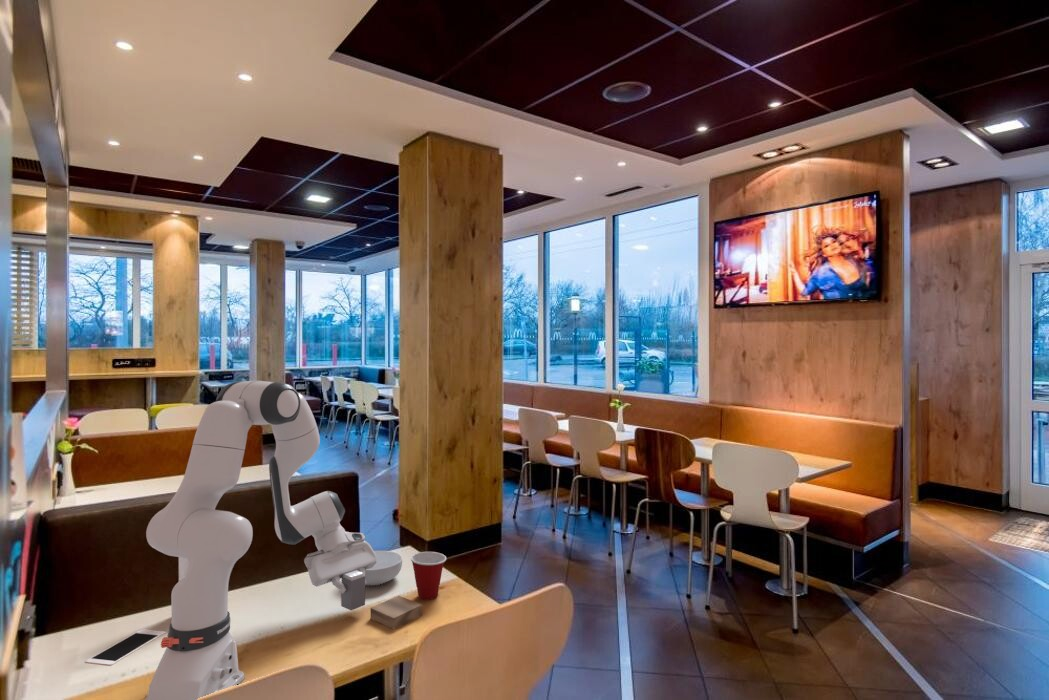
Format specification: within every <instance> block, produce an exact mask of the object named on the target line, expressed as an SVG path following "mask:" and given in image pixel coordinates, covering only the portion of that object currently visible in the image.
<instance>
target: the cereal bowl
mask: <svg viewBox="0 0 1049 700" xmlns="http://www.w3.org/2000/svg"><path fill="white" fill-rule="evenodd" d="M374 552H375V554H376V556H377V562H376V564H375V565H374V566H373V567H372V568H369V569H367V570H365V580H366V582H367V583H366V585H365V586H369V585H371V586H370V587H373V586H372V585H376V586H381V585H384V584H385V582H386V583H387V582H389V581H391V580H393V579H395V578H396V577H397V576H398V575H399V574H400V572H401V570H402V568H403V567H402V566H403V556H402V555H401V554H400V553H398V552H395V551H392V550H374ZM383 583H384V584H383ZM380 584H381V585H380Z"/></svg>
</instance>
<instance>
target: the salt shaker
mask: <svg viewBox="0 0 1049 700" xmlns="http://www.w3.org/2000/svg"><path fill="white" fill-rule="evenodd" d="M341 582H342V583H343V584H347V587H348V588H349V590H348V591H347V592H346V593H343V594H342V593H341V592H340V594H341V595H340V596H341V597H340V599H341V600H340V601H341V603H340V604H341V605H340V606H341V607H343V609H346V610H349V611H353V610H356V609H359V608H361V607H364V606H365V605H366V585H365V576H364V573H362V572H360V571H357V570H353V571H350V572H347V573H344V574H343V577H342V578H341Z"/></svg>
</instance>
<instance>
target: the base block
mask: <svg viewBox="0 0 1049 700" xmlns="http://www.w3.org/2000/svg"><path fill="white" fill-rule="evenodd" d="M369 609H370V619H371V620H372V621H374V622H377V623H379V624H381V625H384V626H386V627H388V628H389V629H392V630H395V629H397V628H399V627H402V626H403V625H405V624H408V623H410V622H412V621H413V620H416V619H418V618H419V617H422V616H423V604H421V603H419V602H417V601H414V600H411V599H409V598H406V597H405V596H401V595H396V596H395V597H392V598H390V599H388V600H386V601H383V602H380V603H378V604H376V605H374V606H372V607H370V608H369Z"/></svg>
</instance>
